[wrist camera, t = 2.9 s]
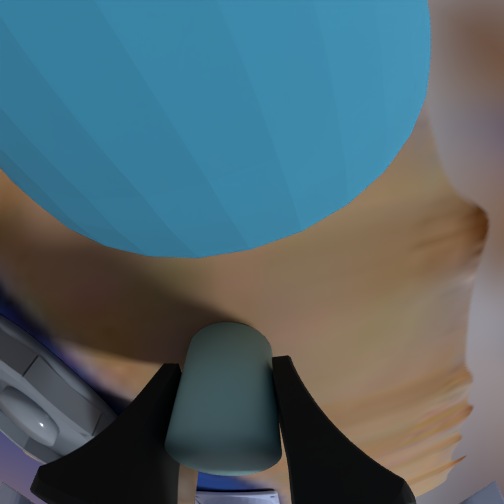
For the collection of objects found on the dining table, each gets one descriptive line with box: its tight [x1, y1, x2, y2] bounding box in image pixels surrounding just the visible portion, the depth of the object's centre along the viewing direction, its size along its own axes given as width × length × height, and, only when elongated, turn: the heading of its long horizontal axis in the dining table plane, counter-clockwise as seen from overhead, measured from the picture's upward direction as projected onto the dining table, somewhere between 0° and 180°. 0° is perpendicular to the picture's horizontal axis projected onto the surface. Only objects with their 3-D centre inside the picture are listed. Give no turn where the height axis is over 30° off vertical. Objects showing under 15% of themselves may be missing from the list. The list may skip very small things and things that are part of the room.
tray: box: [0, 315, 118, 464], centre depth 13 cm, size 18×18×3 cm
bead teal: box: [165, 322, 282, 476], centre depth 9 cm, size 4×4×5 cm
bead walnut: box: [178, 464, 198, 504], centre depth 11 cm, size 4×4×5 cm
